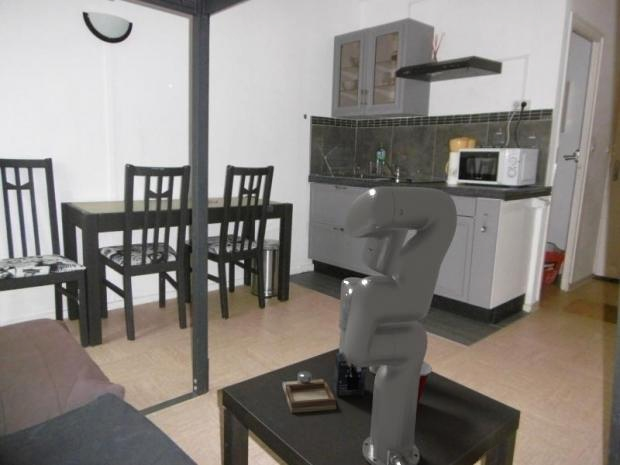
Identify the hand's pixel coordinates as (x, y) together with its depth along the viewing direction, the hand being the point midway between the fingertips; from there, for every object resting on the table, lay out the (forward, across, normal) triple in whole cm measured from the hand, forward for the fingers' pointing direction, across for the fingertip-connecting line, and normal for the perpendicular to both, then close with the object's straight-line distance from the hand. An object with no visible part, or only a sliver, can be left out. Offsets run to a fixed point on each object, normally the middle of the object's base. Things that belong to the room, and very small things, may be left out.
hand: (348, 382), depth 127 cm
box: (+3, 0, 0) cm, 3 cm away
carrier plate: (+3, -1, +12) cm, 12 cm away
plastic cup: (+3, -9, -14) cm, 17 cm away
